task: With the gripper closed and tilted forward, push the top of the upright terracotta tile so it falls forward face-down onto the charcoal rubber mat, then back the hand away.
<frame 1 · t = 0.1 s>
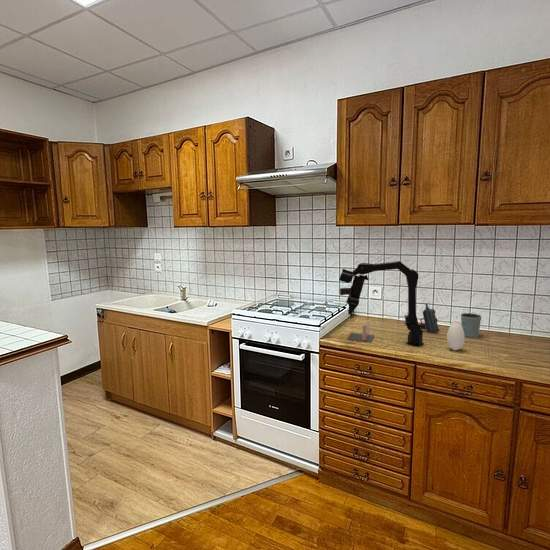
hand: (349, 312, 192), 15 cm above the countertop, tool pointing down, fingers open, 9 cm apart
mat: (360, 338, 196), on the countertop
tile: (365, 337, 195), point 1 cm above the countertop, touching mat
sauce bottle: (454, 350, 176), on the countertop
grey plant pot: (469, 336, 198), on the countertop
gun: (425, 331, 207), on the countertop
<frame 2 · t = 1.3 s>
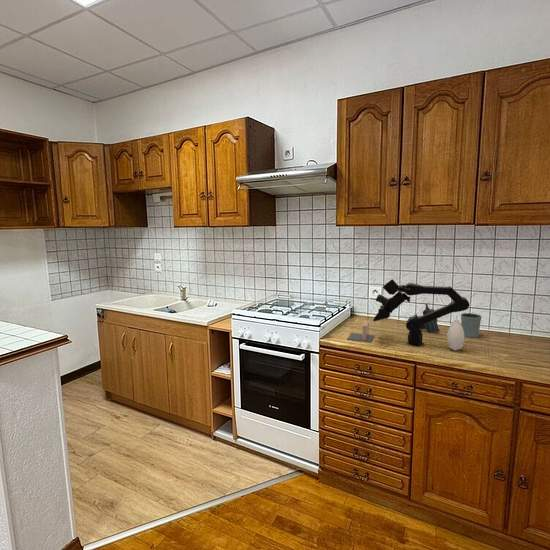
hand: (374, 319, 192), 12 cm above the countertop, tool tilted 45°, fingers open, 6 cm apart
nothing on the countertop moved.
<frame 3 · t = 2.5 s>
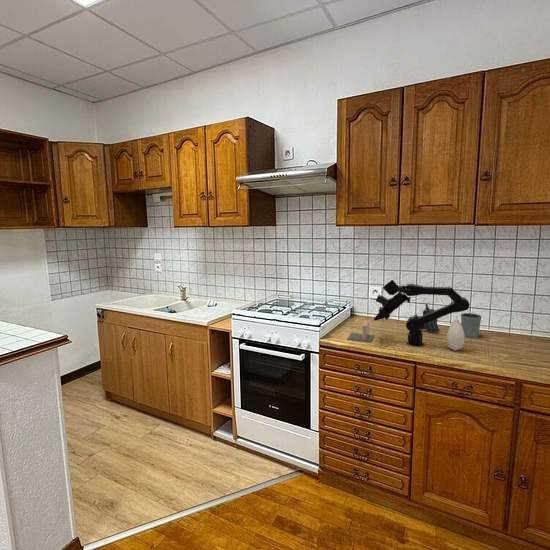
hand: (374, 319, 192), 11 cm above the countertop, tool tilted 45°, fingers closed
nothing on the countertop moved.
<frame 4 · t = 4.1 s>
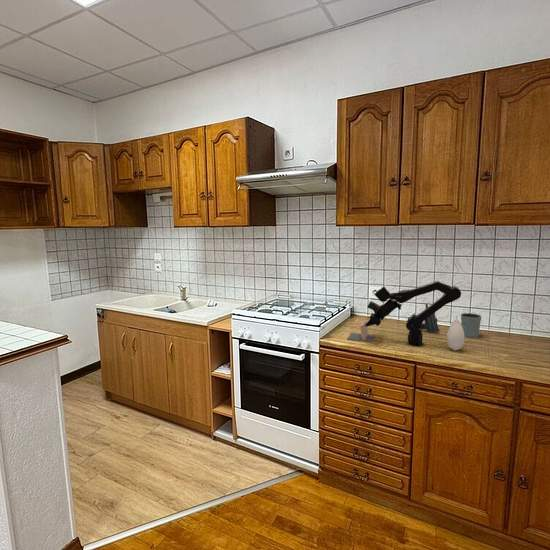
hand: (365, 325, 194), 7 cm above the countertop, tool tilted 45°, fingers closed
tile: (365, 337, 195), point 1 cm above the countertop, tilted 11°, touching mat
everything else where it was.
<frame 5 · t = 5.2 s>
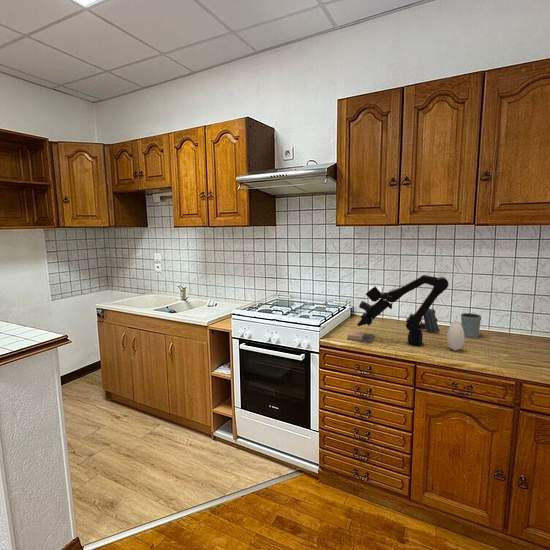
hand: (357, 325, 196), 7 cm above the countertop, tool tilted 45°, fingers closed
tile: (363, 335, 195), point 2 cm above the countertop, tilted 90°, touching mat
everything else where it was.
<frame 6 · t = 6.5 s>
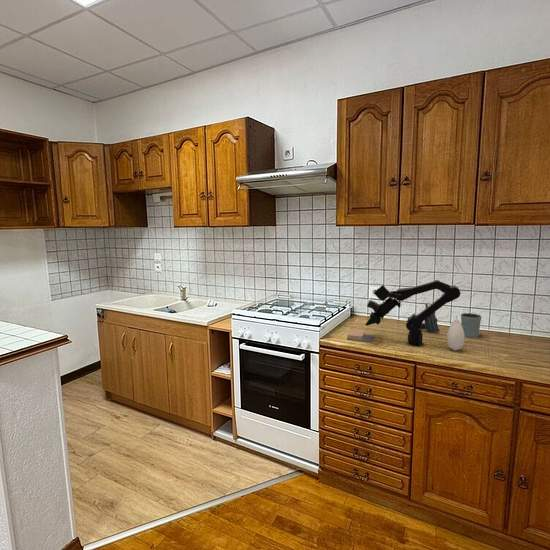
hand: (366, 324, 194), 8 cm above the countertop, tool tilted 45°, fingers closed
nothing on the countertop moved.
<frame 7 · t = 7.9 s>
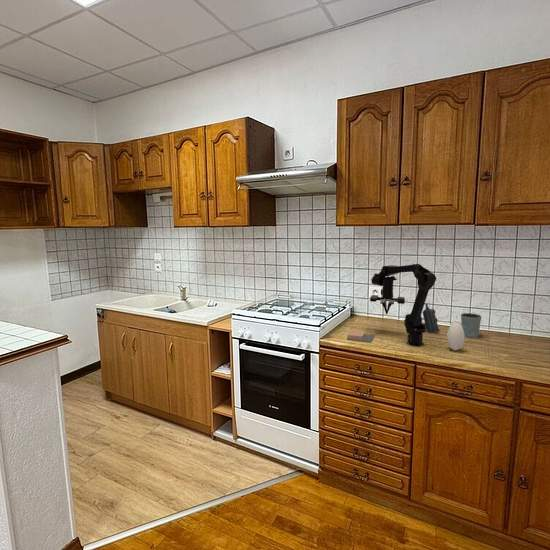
hand: (386, 313, 201), 12 cm above the countertop, tool pointing down, fingers closed
nothing on the countertop moved.
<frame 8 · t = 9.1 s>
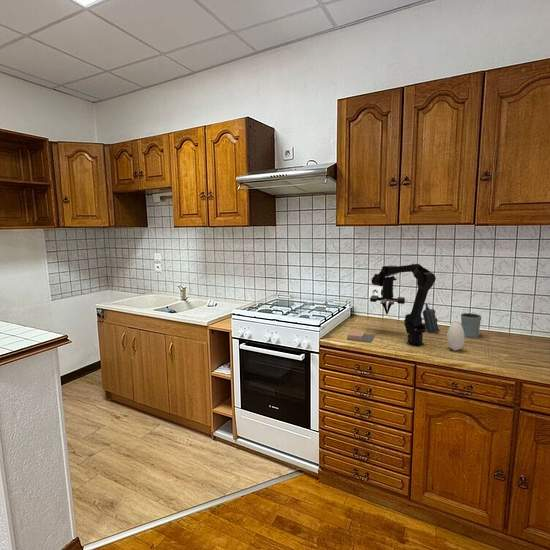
hand: (387, 314, 201), 12 cm above the countertop, tool pointing down, fingers closed
nothing on the countertop moved.
at the end: tile tilted 90°; tile inside the target area on the mat (0.4 cm from its centre), point 1.6 cm above the mat's base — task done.
